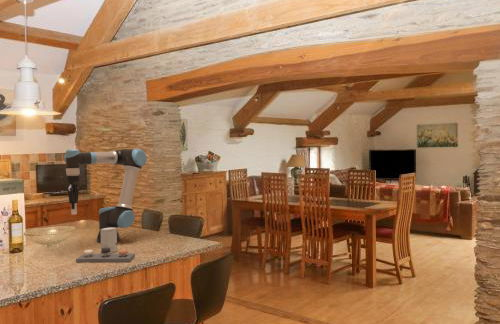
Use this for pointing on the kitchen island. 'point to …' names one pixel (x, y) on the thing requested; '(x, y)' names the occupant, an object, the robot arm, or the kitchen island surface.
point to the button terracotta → (123, 252)
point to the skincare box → (109, 239)
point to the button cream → (88, 253)
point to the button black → (105, 251)
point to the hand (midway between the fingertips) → (74, 214)
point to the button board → (105, 258)
